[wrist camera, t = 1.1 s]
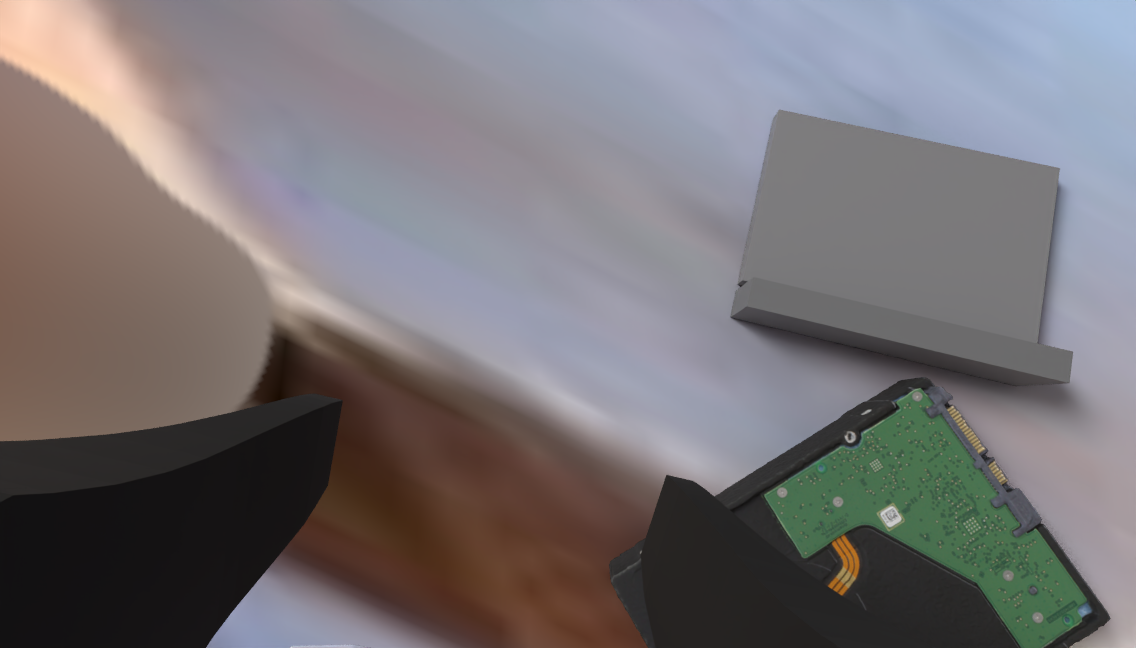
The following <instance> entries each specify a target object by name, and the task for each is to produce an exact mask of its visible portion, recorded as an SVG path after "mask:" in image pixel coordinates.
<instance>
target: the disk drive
mask: <svg viewBox="0 0 1136 648" xmlns="http://www.w3.org/2000/svg"><path fill="white" fill-rule="evenodd" d="M952 399H953V397H952V395H951V394H949V393H947V392H946V391H945V390H944V389H943V387H935V385H934V384H933V383H932V382H931V381H930V380H929V379H928V378H925V377H921V378H915V379H907V380H901V381H898V382H897V383H896V384H894V385H893V386H891V387H889V388H888V389H886V390H884V391H882V392H881V393H879V394H878V395H877V396H875V397H873V398H871V399H870V400H868V401H867V402H863V403H861V404H859V405H857V406H856V407H855V408H853V409H851V410H850V411H847V412H846V413H845V414H843V415H842V416H841V417H840V418H839V419H838V420H836V421H834V422H833V423H831V424H829V425H828V426H826V427H824V428H823V429H822V430H820V431H818V432H817V433H815V434H813V435H812V436H811V437H809V438H807V439H806V440H804V441H802V442H801V443H799V444H798V445H796V446H795V447H793V448H791V449H790V450H788V451H786V452H785V453H783V454H781V455H780V456H778V457H777V458H775V459H773V460H772V461H770V462H768V463H767V464H766V465H764V466H762V467H761V468H759V469H757V470H756V471H754V472H753V473H751V474H749V475H748V476H746V477H745V478H743V479H741V480H740V481H738V482H736V483H735V484H733V485H732V486H731V487H729V488H727V489H725V490H724V491H723V492H721V493H720V494H718V495H716V496H715V498H716V499H717V500H719V501H720V502H721V503H722V504H723V505H724V506H726V507H727V508H728V509H729V510H730V511H731V512H733V513H734V514H735V515H736V516H737V517H738V518H739V519H741V520H742V521H743V522H744V523H745V524H746V525H748V526H749V527H750V528H751V529H752V530H754V531H755V532H756V533H757V534H758V535H760V536H761V537H762V538H763V539H764V540H766V541H767V542H768V543H769V544H771V545H772V546H773V547H774V548H776V549H777V550H778V551H780V552H781V553H782V554H783V555H785V556H786V557H787V558H789V559H790V560H791V561H792V562H794V563H795V564H796V565H798V566H799V567H801V568H802V569H803V570H805V571H806V572H807V573H809V574H810V575H812V576H813V577H815V578H816V579H818V580H819V581H821V582H822V583H824V584H825V585H827V586H828V587H830V588H831V589H833V590H834V591H836V592H837V593H839V594H840V595H842V596H843V597H845V598H847V599H848V600H850V601H851V602H853V603H855V604H856V605H858V606H860V607H861V608H863V609H865V610H866V611H868V612H870V613H872V614H873V615H875V616H877V617H879V618H880V619H882V620H884V621H886V622H887V623H889V624H891V625H893V626H894V627H896V628H898V629H900V630H902V631H904V632H906V633H908V634H910V635H911V636H913V637H915V638H917V639H919V640H921V641H923V642H925V643H927V644H929V645H931V646H933V647H935V648H1069V647H1070V646H1072V645H1073V644H1074V643H1075V642H1079V641H1080V640H1082V639H1083V638H1085V637H1087V636H1089V635H1090V634H1092V633H1093V632H1095V631H1096V630H1098V628H1099V627H1100V626H1104V624H1105V623H1107V622H1108V621H1109V620H1110V616H1109V614H1108V612H1107V611H1106V609H1105V608H1104V607H1103V605H1102V604H1101V603H1100V601H1099V600H1098V599H1097V597H1096V595H1095V594H1094V593H1093V592H1092V590H1091V588H1090V587H1089V586H1088V585H1087V583H1086V582H1085V580H1084V579H1083V578H1082V576H1081V575H1080V573H1079V572H1078V571H1077V569H1076V568H1075V566H1074V565H1073V564H1072V563H1071V561H1070V560H1069V558H1068V557H1067V555H1066V554H1065V553H1064V551H1063V550H1062V548H1061V547H1060V546H1059V545H1058V543H1057V542H1056V540H1055V539H1054V537H1053V536H1052V535H1051V533H1050V532H1049V531H1048V529H1047V528H1046V526H1045V525H1044V524H1041V523H1040V522H1041V520H1042V519H1041V517H1040V516H1039V514H1038V513H1037V511H1036V510H1035V508H1034V507H1033V506H1032V505H1031V503H1030V502H1029V501H1028V499H1027V498H1026V497H1025V495H1024V494H1023V492H1022V491H1021V490H1020V489H1018V488H1016V489H1013V488H1011V487H1010V486H1008V485H1007V484H1006V482H1007V481H1008V479H1007V477H1006V476H1005V474H1004V473H1003V471H1002V470H1001V469H1000V468H999V466H998V465H997V463H996V462H995V460H994V457H992V458H988V457H987V456H986V455H985V454H986V453H987V452H988V450H987V448H986V447H985V446H984V445H983V444H982V443H981V441H980V440H979V439H978V437H977V436H976V435H975V433H974V432H973V430H972V429H971V428H970V427H969V425H968V424H967V422H966V421H965V419H964V418H963V417H962V415H961V414H960V412H959V411H958V410H957V408H956V407H955V406H953V405H951V406H950V405H949V404H948V401H950V400H952ZM645 539H646V538H645ZM645 539H644V540H642V541H640V542H638V543H637V544H636V545H635V546H634V547H632V548H631V549H629V550H627V551H625V552H624V553H622V554H620V556H619V557H616V558H614V559H613V560H611V562H610V564H609V567H610V579H611V583H612V585H613V587H614V589H615V591H616V593H617V595H618V597H619V599H620V600H621V601H622V603H623V605H624V607H625V609H626V611H627V612H628V614H629V615H630V617H631V619H632V621H633V622H634V624H635V626H636V628H637V630H638V631H639V632H640V634H641V636H642V638H643V639H644V641H645V643H646V645H647V646H648V648H655V643H654V639H653V635H652V630H651V626H650V621H649V617H648V612H647V608H646V603H645V598H644V590H643V580H642V566H641V552H642V548H643V545H644V542H645Z"/></svg>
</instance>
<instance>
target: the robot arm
mask: <svg viewBox="0 0 1136 648" xmlns="http://www.w3.org/2000/svg"><path fill="white" fill-rule="evenodd" d="M342 401H343V400H339V399H335V398H331V397H326V396H322V395H318V394H307V395H301V396H296V397H292V398H287V399H283V400H279V401H275V402H271V403H267V404H264V405H260V406H256V407H252V408H248V409H244V410H240V411H236V412H232V413H227V414H223V415H218V416H214V417H209V418H205V419H200V420H196V421H191V422H186V423H182V424H176V425H171V426H165V427H159V428H153V429H146V430H139V431H132V432H124V433H117V434H109V435H98V436H85V437H71V438H59V439H46V440H29V441H0V648H206V647H207V645H208V644H209V642H210V641H211V639H212V638H213V636H214V635H215V634H216V632H217V631H218V630H219V628H220V627H221V626H222V624H223V623H224V622H225V620H226V619H227V618H228V616H229V615H230V614H231V613H232V611H233V610H234V609H235V608H236V606H237V605H238V604H239V603H240V602H241V600H242V599H243V598H244V597H245V596H246V594H247V593H248V592H249V591H250V590H251V588H252V587H253V586H254V585H255V584H256V582H257V581H258V580H259V579H260V577H261V576H262V575H263V574H264V573H265V571H266V570H267V569H268V568H269V567H270V565H271V564H272V563H273V562H274V561H275V559H276V558H277V557H278V556H279V555H280V553H281V552H282V551H283V550H284V548H285V547H286V546H287V545H288V543H289V542H290V541H291V540H292V539H293V537H294V536H295V535H296V534H297V532H298V531H299V530H300V529H301V527H302V526H303V525H304V524H305V522H306V520H307V519H308V517H309V516H310V514H311V512H312V511H313V509H314V508H315V506H316V504H317V503H318V501H319V499H320V498H321V496H322V494H323V493H324V491H325V489H326V488H327V486H328V481H329V475H330V470H331V464H332V458H333V453H334V447H335V441H336V436H337V430H338V424H339V418H340V413H341V407H342ZM641 566H642V580H643V590H644V598H645V603H646V608H647V612H648V617H649V621H650V626H651V630H652V635H653V639H654V643H655V648H935V647H933V646H931V645H929V644H927V643H925V642H923V641H921V640H919V639H917V638H915V637H913V636H911V635H910V634H908V633H906V632H904V631H902V630H900V629H898V628H896V627H894V626H893V625H891V624H889V623H887V622H886V621H884V620H882V619H880V618H879V617H877V616H875V615H873V614H872V613H870V612H868V611H866V610H865V609H863V608H861V607H860V606H858V605H856V604H855V603H853V602H851V601H850V600H848V599H847V598H845V597H843V596H842V595H840V594H839V593H837V592H836V591H834V590H833V589H831V588H830V587H828V586H827V585H825V584H824V583H822V582H821V581H819V580H818V579H816V578H815V577H813V576H812V575H810V574H809V573H807V572H806V571H805V570H803V569H802V568H801V567H799V566H798V565H796V564H795V563H794V562H792V561H791V560H790V559H789V558H787V557H786V556H785V555H783V554H782V553H781V552H780V551H778V550H777V549H776V548H774V547H773V546H772V545H771V544H769V543H768V542H767V541H766V540H764V539H763V538H762V537H761V536H760V535H758V534H757V533H756V532H755V531H754V530H752V529H751V528H750V527H749V526H748V525H746V524H745V523H744V522H743V521H742V520H741V519H739V518H738V517H737V516H736V515H735V514H734V513H733V512H731V511H730V510H729V509H728V508H727V507H726V506H724V505H723V504H722V503H721V502H720V501H719V500H717V499H716V498H715V497H714V496H713V495H711V494H710V493H709V492H708V491H707V490H705V489H704V488H703V487H701V486H700V485H698V484H697V483H695V482H694V481H691V480H686V479H682V478H677V477H673V476H669V475H666V478H665V481H664V484H663V487H662V490H661V493H660V496H659V499H658V502H657V506H656V509H655V512H654V515H653V518H652V521H651V524H650V527H649V530H648V533H647V536H646V539H645V542H644V545H643V548H642V552H641ZM290 648H369V647H364V646H358V645H322V646H292V647H290Z"/></svg>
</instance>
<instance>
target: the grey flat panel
mask: <svg viewBox="0 0 1136 648" xmlns="http://www.w3.org/2000/svg"><path fill="white" fill-rule="evenodd" d="M1059 170H1060V168H1056V167H1051V166H1046V165H1042V164H1037V163H1032V162H1027V161H1022V160H1018V159H1013V158H1008V157H1003V156H999V155H994V154H989V153H984V152H979V151H975V150H970V149H965V148H960V147H955V146H951V145H946V144H941V143H936V142H932V141H927V140H922V139H917V138H912V137H908V136H903V135H898V134H893V133H888V132H884V131H879V130H874V129H869V128H864V127H860V126H855V125H850V124H845V123H841V122H836V121H831V120H826V119H821V118H817V117H812V116H807V115H802V114H797V113H793V112H788V111H783V110H778V112H777V114H776V115H775V117H774V118H773V121H772V126H771V130H770V135H769V140H768V144H767V149H766V154H765V158H764V163H763V168H762V172H761V177H760V182H759V186H758V191H757V196H756V200H755V205H754V210H753V214H752V219H751V224H750V228H749V233H748V238H747V242H746V247H745V252H744V256H743V261H742V265H741V270H740V275H739V279H738V285H742V286H741V287H740V288H739V289H738V290H737V291H736V293H735V298H734V303H733V307H732V312H731V317H732V318H736V319H740V320H744V321H748V322H752V323H756V324H761V325H765V326H769V327H773V328H777V329H781V330H786V331H790V332H794V333H798V334H802V335H806V336H810V337H815V338H819V339H823V340H827V341H831V342H835V343H840V344H844V345H848V346H852V347H856V348H860V349H864V350H869V351H873V352H877V353H881V354H885V355H889V356H894V357H898V358H902V359H906V360H910V361H914V362H918V363H923V364H927V365H931V366H935V367H939V368H943V369H948V370H952V371H956V372H960V373H964V374H968V375H972V376H977V377H981V378H985V379H989V380H993V381H997V382H1002V383H1006V384H1010V385H1014V386H1027V385H1044V384H1062V383H1069V382H1070V373H1071V365H1072V356H1073V352H1072V351H1068V350H1063V349H1059V348H1055V347H1051V346H1046V345H1042V344H1038V343H1037V342H1038V335H1039V327H1040V319H1041V311H1042V303H1043V295H1044V288H1045V280H1046V272H1047V264H1048V256H1049V248H1050V241H1051V233H1052V225H1053V217H1054V209H1055V201H1056V194H1057V186H1058V178H1059Z"/></svg>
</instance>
